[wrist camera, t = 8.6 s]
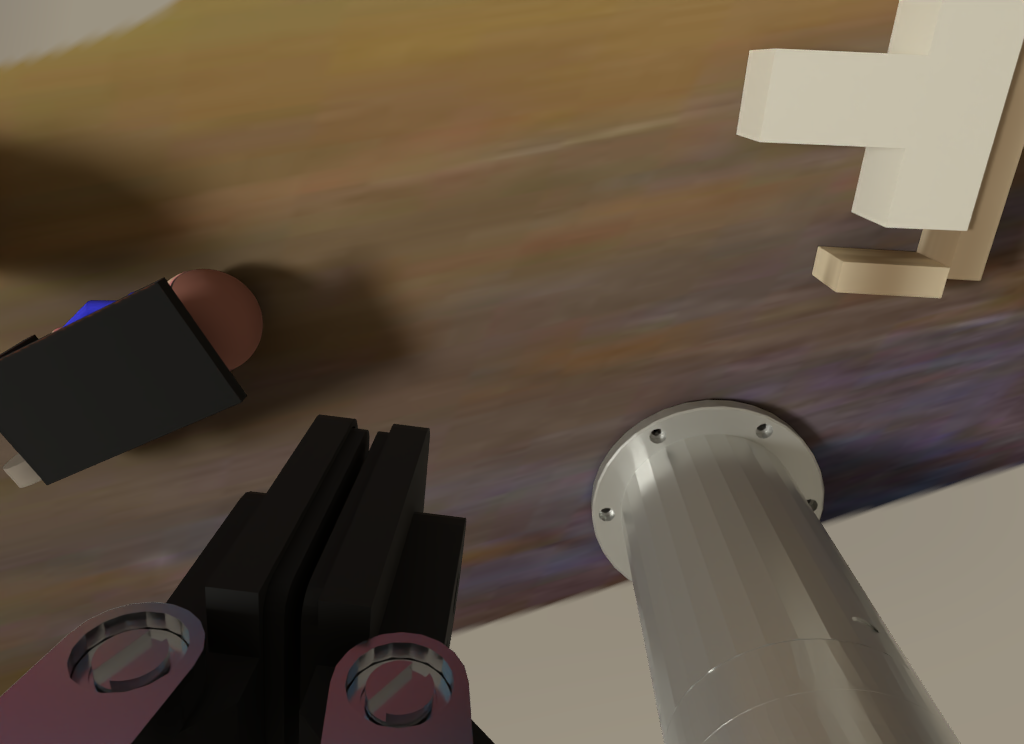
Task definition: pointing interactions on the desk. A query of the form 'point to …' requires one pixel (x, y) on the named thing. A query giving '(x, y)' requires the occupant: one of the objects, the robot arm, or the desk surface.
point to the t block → (899, 107)
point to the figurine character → (125, 373)
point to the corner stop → (939, 248)
